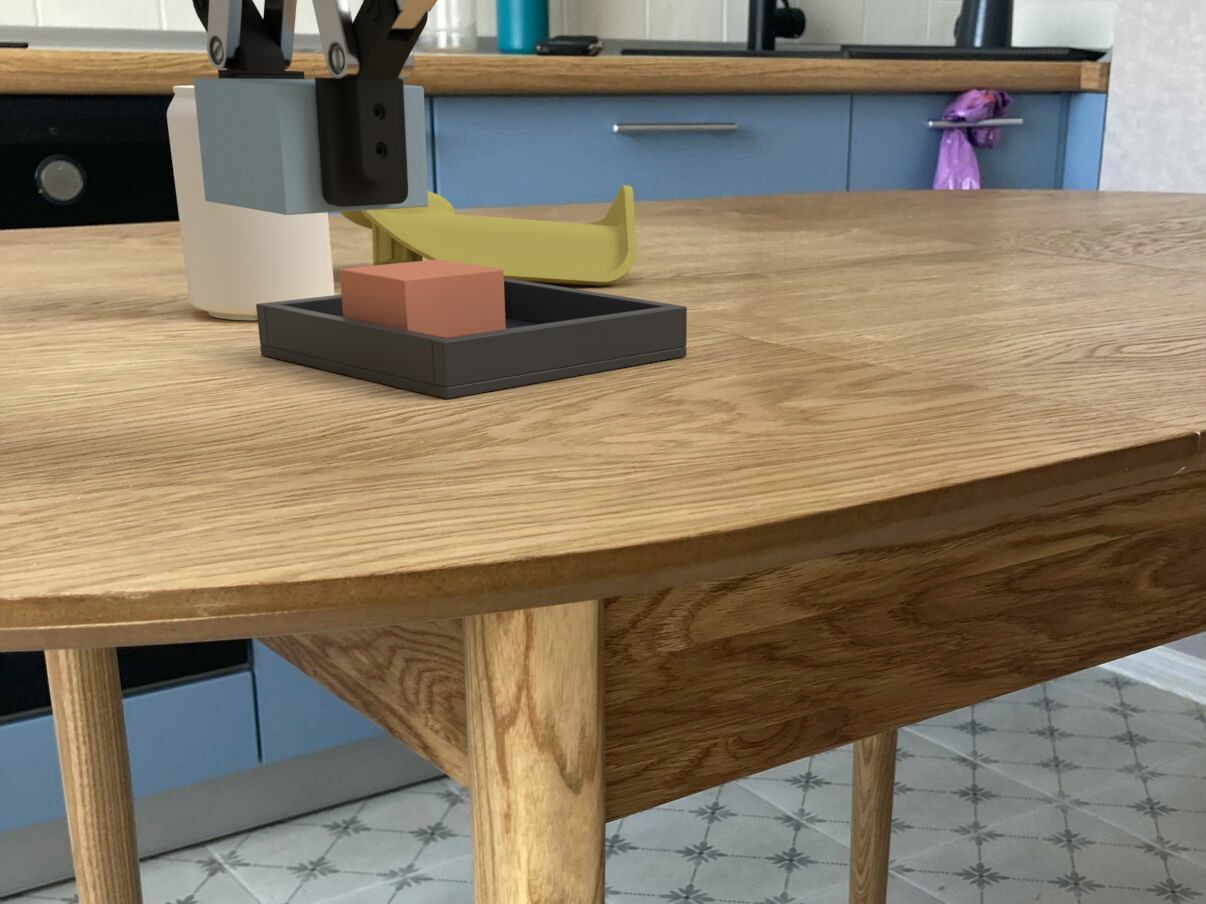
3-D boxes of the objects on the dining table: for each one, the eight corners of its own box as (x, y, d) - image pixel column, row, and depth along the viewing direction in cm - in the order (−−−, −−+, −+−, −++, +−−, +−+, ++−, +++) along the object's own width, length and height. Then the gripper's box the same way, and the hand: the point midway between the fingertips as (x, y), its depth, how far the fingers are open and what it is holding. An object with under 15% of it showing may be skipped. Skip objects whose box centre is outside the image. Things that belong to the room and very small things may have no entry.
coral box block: (345, 354, 75) (338, 268, 73) (442, 340, 79) (438, 259, 78) (409, 368, 72) (403, 279, 70) (507, 353, 76) (503, 269, 75)
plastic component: (608, 228, 112) (636, 174, 102) (610, 329, 112) (638, 284, 102) (325, 207, 107) (326, 147, 97) (327, 313, 106) (328, 264, 97)
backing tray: (260, 355, 77) (255, 303, 76) (499, 322, 88) (498, 276, 87) (446, 399, 68) (443, 341, 67) (686, 356, 79) (687, 306, 78)
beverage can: (161, 317, 87) (131, 86, 82) (243, 298, 94) (220, 84, 89) (287, 326, 85) (264, 90, 80) (361, 306, 92) (344, 87, 87)
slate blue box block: (204, 201, 55) (192, 77, 53) (346, 194, 59) (339, 79, 57) (285, 215, 52) (275, 85, 50) (429, 206, 56) (424, 86, 54)
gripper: (23, -419, 50) (97, 179, 57) (337, -513, 40) (377, 227, 47) (229, -370, 55) (272, 173, 63) (553, -442, 45) (558, 215, 53)
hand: (317, 190), depth 55 cm, fingers closed on slate blue box block, 5 cm apart
